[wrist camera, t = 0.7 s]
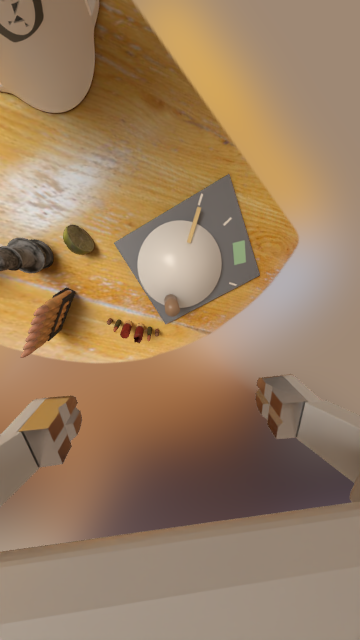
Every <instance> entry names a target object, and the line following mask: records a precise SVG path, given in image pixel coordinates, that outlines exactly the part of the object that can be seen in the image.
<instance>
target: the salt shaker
mask: <svg viewBox="0 0 360 640" xmlns="http://www.w3.org/2000/svg"><path fill="white" fill-rule="evenodd" d="M52 263H53V253H52V251H51V249H50V248H49V247H48V246H47V245H46V244H45V243H44V242H42V241H39V240H28V239H25V238H15V239H13V240H11V241H10V242H9V243H8V245H7V246H2V247H0V271H3V270H7V269H9V270H21V271H23V272H26V273H36V272H39V271H41V270H42V269H44V268H48V267H49V266H51V264H52Z"/></svg>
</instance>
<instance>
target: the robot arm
mask: <svg viewBox="0 0 360 640" xmlns="http://www.w3.org/2000/svg"><path fill="white" fill-rule="evenodd" d="M98 10H99V0H0V91H2V92H7V93H11V94H13V95H15V96H17V97H18V98H20V99H21V100H23V101H24V102H26V103H27V104H29V105H31V106H32V107H34V108H37V109H39V110H42V111H45V112H51V113H60V112H65V111H68V110H70V109H72V108H74V107H76V106H77V105H78V104H79V103H80V102H81V101H82V100H83V99H84V97H85V96H86V94H87V92H88V90H89V88H90V85H91V82H92V78H93V74H94V66H95V47H94V27H95V23H96V19H97V15H98ZM257 386H258V388H259V390H258V391H257V393H256V399H255V400H256V405H257V408H258V410H259V412H260V414H261V415H262V416H263V417H265V418H266V419H268V421H267V425H268V427H269V428H270V430H271V432H272V433H273V435H274V436H275V438H276V439H284V438H296V437H297V439H298V440H299V441H301V442H302V443H303V444H304V445H306V446H307V447H308V448H310V449H311V450H312V451H314V452H315V453H316V454H317V455H319V456H320V457H321V458H323V459H324V460H325V461H327V462H328V463H329V464H331V465H332V466H333V467H334V468H336V469H337V470H338V471H340V472H341V473H342V474H343V475H345V476H346V477H347V478H349V479H350V480H351V481H352V482H354V483H355V484H354V486H353V488H352V490H351V493H350V500H351V501H352V502H353V503H346V504H339V505H332V506H324V507H317V508H310V509H303V510H296V511H289V512H281V513H275V514H267V515H260V516H253V517H246V518H238V519H231V520H224V521H217V522H210V523H203V524H195V525H188V526H181V527H174V528H167V529H160V530H152V531H145V532H138V533H131V534H124V535H117V536H109V537H102V538H95V539H88V540H81V541H74V542H67V543H60V544H53V545H45V546H39V547H31V548H24V549H17V550H10V551H3V552H0V640H360V415H358V414H356V413H354V412H352V411H349V410H347V409H345V408H342V407H340V406H338V405H336V404H334V403H331V402H329V401H327V400H321V399H320V398H319V397H317V395H315V394H314V393H313V392H312V391H311V390H310V389H309V388H308V387H307V386H305V385H304V384H303V383H302V382H301V381H300V380H299V379H298V378H297V377H296V376H294V375H292V374H289V375H281V376H273V377H264V378H259V379H258V380H257ZM77 403H78V402H77V400H76V397H74V396H63V397H50V398H40V399H35V400H33V401H32V402H31V403H30V404H29V405H28V406H27V407H26V408H25V409H24V410H23V412H21V414H20V415H19V416H18V417H17V418H16V419H15V420H14V421H13V422H12V423H11V424H10V425H9V426H8V427H7V429H5V431H4V432H3V433H2V434H0V507H1V506H2V505H3V504H4V503H5V502H6V501H7V500H8V499H9V498H10V497H11V496H12V495H13V494H14V493H15V492H16V491H17V490H18V489H19V488H20V487H21V486H22V485H23V484H24V483H25V482H26V481H27V480H28V479H29V478H30V477H31V476H32V475H33V474H34V473H35V472H36V471H37V470H38V469H39V467H46V466H52V465H59V464H63V462H64V460H65V458H66V456H67V454H68V452H69V450H70V448H71V442H70V441H71V440H72V439H73V438H75V437H76V436H77V434H78V432H79V430H80V427H81V422H82V416H81V412H80V411H79V410H78V409H77V408H76V405H77Z"/></svg>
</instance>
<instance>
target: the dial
mask: <svg viewBox="0 0 360 640" xmlns="http://www.w3.org/2000/svg"><path fill="white" fill-rule="evenodd" d="M200 211H201V208H200V207H197V209H196V213H195V216H194V219H193V222H190V221H184V220H176V221H170V222H167V223H164V224H162V225H160V226H159V227H157V228H156V229H154V230H153V231H152V232H151V233H150V234H149V235H148V236H147V238H146V239H145V240H144V242H143V244H142V246H141V248H140V251H139V255H138V261H137V268H138V275H139V279H140V281H141V284H142V286H143V287H144V289H145V290H146V292H147V293H148V294H149V295H150V296H151V297H152V298H153V299H154V300H155V301H157V302H159V303H161V304H163V305H165V312H166V314H167V315H168V316H171V317H174V316H176V315H178V314H179V312H180V308H185V307H190V306H193V305H195V304H197V303H199V302H201V301H203V300H204V299H205V298H206V297H207V296H208V295H209V294H210V293H211V292H212V291H213V290H214V288H215V286H216V285H217V282H218V280H219V277H220V274H221V267H222V260H221V253H220V250H219V247H218V245H217V243H216V241H215V239H214V238H213V236H212V235H211V234H210V233H209V232H208V231H207V230H206V229H205V228H203V227H202V226H200V225H198V224H197V221H198V217H199V214H200Z"/></svg>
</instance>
